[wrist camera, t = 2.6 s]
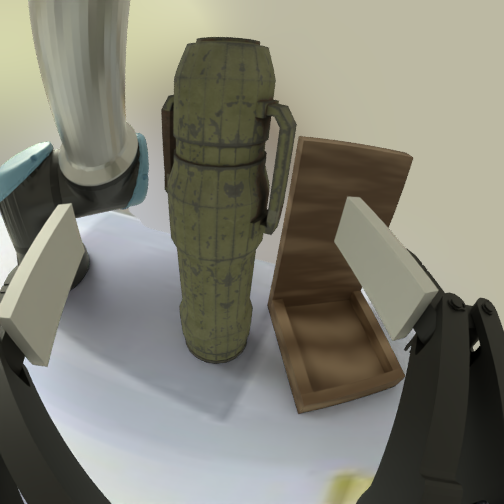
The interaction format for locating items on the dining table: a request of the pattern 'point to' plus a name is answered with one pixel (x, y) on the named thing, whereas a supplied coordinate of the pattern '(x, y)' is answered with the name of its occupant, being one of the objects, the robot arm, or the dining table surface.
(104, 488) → the dining table surface
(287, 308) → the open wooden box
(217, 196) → the thermos
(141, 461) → the dining table surface
